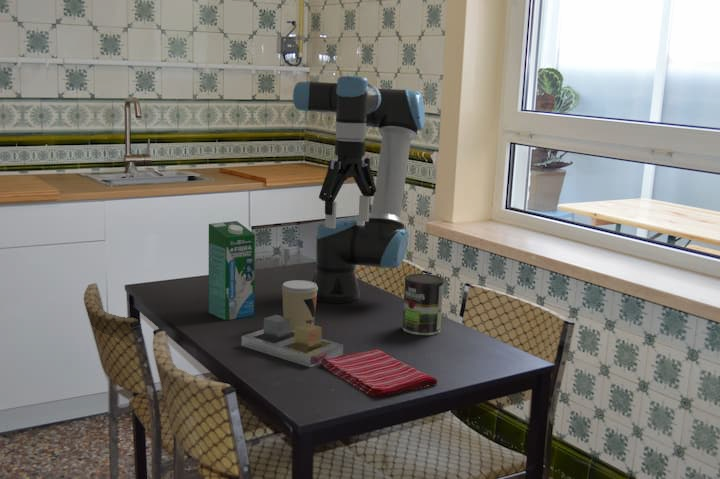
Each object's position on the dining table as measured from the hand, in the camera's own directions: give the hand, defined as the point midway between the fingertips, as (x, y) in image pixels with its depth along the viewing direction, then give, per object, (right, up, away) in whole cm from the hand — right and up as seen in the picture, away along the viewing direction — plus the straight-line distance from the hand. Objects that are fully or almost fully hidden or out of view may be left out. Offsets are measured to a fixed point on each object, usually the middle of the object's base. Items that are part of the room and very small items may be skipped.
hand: (347, 224), depth 212 cm
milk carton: (-32, -24, +19) cm, 45 cm away
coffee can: (+20, -28, +12) cm, 36 cm away
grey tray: (-13, -31, -9) cm, 34 cm away
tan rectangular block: (-9, -31, -12) cm, 35 cm away
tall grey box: (-17, -30, -6) cm, 35 cm away
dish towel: (+7, -35, -22) cm, 42 cm away
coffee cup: (-13, -27, +8) cm, 31 cm away
